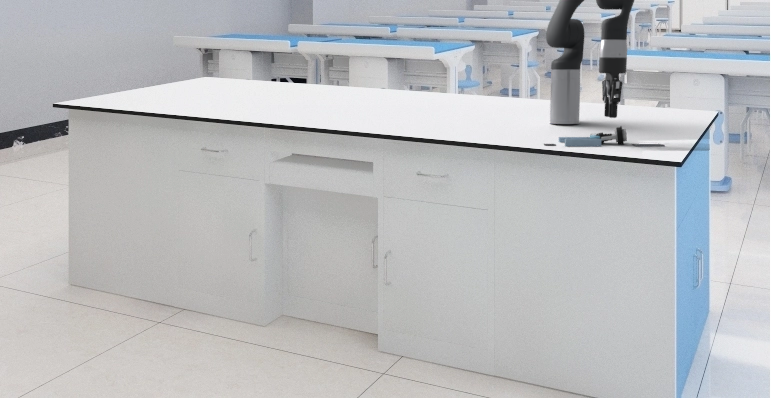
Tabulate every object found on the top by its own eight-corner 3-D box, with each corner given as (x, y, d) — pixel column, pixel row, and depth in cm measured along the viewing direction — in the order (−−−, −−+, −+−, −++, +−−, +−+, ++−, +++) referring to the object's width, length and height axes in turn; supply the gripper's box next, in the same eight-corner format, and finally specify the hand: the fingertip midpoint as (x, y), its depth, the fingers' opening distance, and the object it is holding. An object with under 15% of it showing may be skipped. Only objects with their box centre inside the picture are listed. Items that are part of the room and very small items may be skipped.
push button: (591, 150, 263) (627, 146, 260) (589, 132, 262) (625, 127, 260) (591, 147, 269) (626, 142, 267) (589, 129, 268) (624, 124, 266)
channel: (558, 144, 270) (558, 137, 269) (592, 143, 270) (592, 137, 270) (565, 146, 260) (565, 139, 260) (601, 146, 260) (601, 139, 260)
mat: (628, 144, 267) (628, 143, 267) (655, 144, 267) (655, 142, 267) (636, 146, 259) (636, 144, 259) (664, 146, 259) (664, 144, 259)
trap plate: (542, 144, 268) (542, 143, 268) (552, 144, 268) (552, 143, 268) (545, 145, 263) (545, 144, 263) (556, 145, 263) (556, 144, 263)
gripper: (633, 56, 255) (630, 118, 257) (620, 56, 269) (617, 115, 271) (605, 56, 255) (603, 118, 257) (594, 56, 269) (591, 115, 271)
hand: (610, 116), depth 264 cm, fingers open, 4 cm apart
